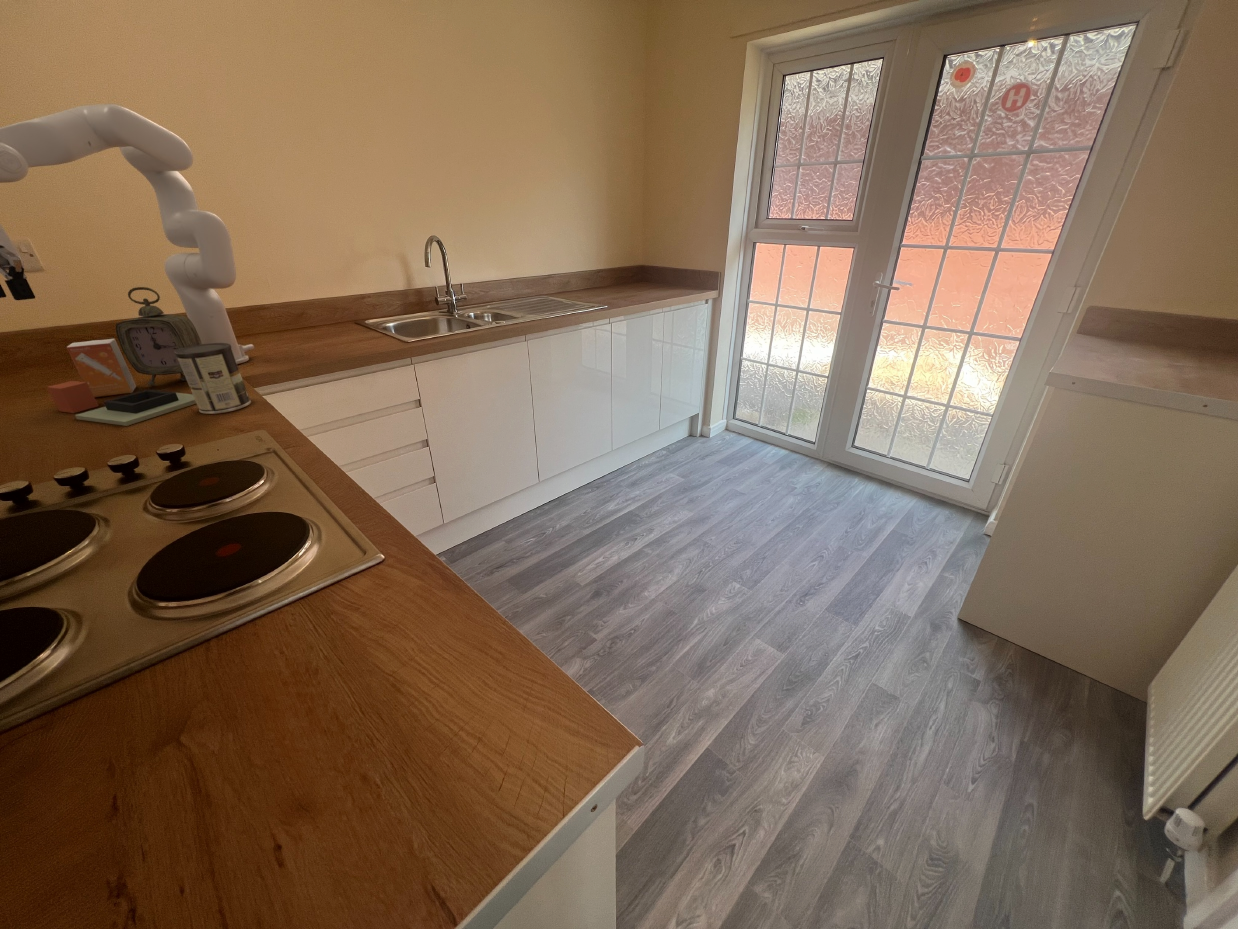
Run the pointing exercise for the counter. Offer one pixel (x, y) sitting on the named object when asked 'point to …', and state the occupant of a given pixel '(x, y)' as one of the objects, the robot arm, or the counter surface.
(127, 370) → the small box
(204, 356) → the coffee can
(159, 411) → the back pad
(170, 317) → the tabletop clock
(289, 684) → the counter surface
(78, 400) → the pad block
